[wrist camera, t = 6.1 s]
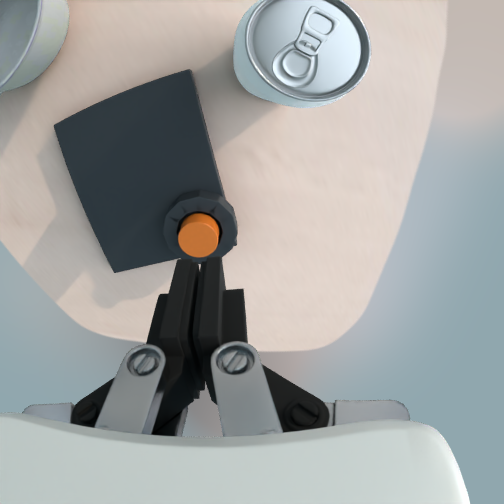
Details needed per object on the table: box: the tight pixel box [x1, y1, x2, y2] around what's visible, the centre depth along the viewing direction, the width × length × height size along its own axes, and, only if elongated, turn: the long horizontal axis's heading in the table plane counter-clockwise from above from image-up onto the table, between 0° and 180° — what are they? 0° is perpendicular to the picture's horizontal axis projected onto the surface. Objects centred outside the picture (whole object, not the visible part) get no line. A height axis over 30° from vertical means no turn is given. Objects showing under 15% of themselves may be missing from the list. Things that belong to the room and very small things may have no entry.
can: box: [233, 0, 371, 108], centre depth 15 cm, size 6×6×12 cm
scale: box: [54, 69, 237, 273], centre depth 23 cm, size 16×14×3 cm
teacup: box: [0, 0, 69, 95], centre depth 13 cm, size 14×11×8 cm
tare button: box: [178, 213, 219, 257], centre depth 24 cm, size 3×3×2 cm
